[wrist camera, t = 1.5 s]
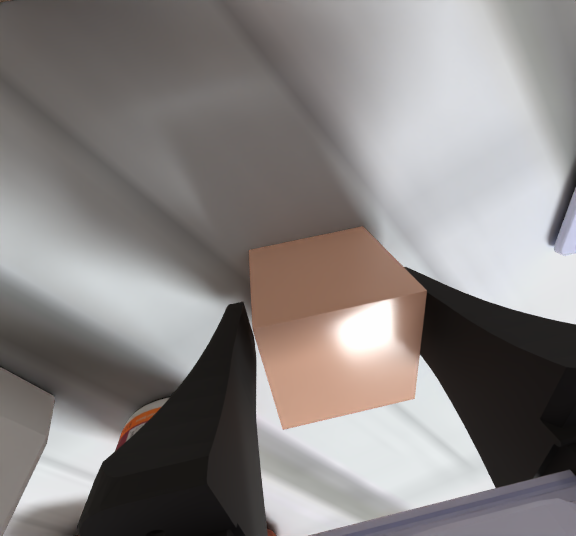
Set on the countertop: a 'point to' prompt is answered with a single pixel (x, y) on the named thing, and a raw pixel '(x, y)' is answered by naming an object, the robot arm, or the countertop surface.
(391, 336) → the terracotta block
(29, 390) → the soap bottle
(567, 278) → the countertop surface
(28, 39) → the countertop surface
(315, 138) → the countertop surface
